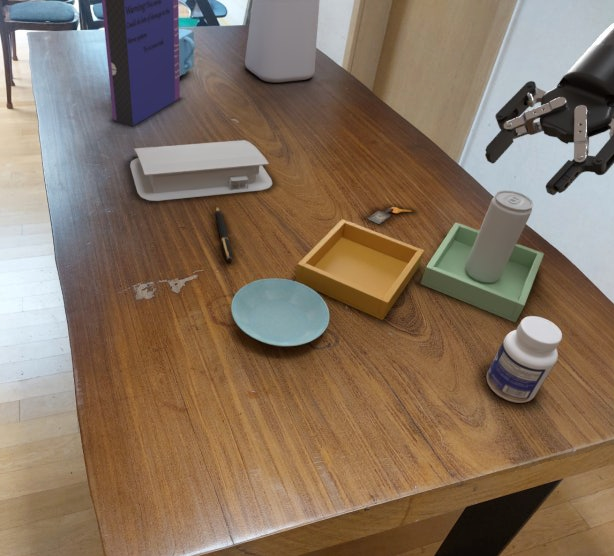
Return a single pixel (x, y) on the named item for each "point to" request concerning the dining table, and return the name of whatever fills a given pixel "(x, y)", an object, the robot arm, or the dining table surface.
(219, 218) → the fountain pen
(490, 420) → the dining table surface
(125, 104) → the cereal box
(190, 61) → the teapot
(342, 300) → the ochre tray
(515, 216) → the beverage can
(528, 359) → the pill bottle
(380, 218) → the key tag
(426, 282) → the sage tray
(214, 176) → the white plastic case
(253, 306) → the saucer
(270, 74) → the plastic bottle
